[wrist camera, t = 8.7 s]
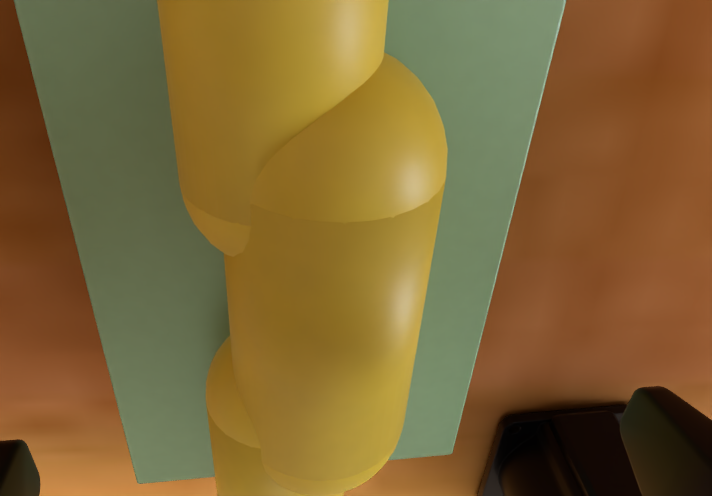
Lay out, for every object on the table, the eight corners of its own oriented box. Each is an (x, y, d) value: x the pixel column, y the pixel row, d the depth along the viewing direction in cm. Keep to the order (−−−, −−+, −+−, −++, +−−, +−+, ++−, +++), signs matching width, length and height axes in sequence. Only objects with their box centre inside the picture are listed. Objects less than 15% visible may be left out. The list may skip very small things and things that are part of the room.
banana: (381, 507, 19) (375, 638, 16) (241, 492, 19) (210, 620, 16) (527, -421, 7) (605, -572, 4) (165, -447, 7) (0, -611, 4)
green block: (415, 336, 22) (452, 455, 18) (156, 352, 21) (136, 485, 17) (505, -218, 13) (624, -219, 9) (43, -257, 11) (-60, -278, 7)
